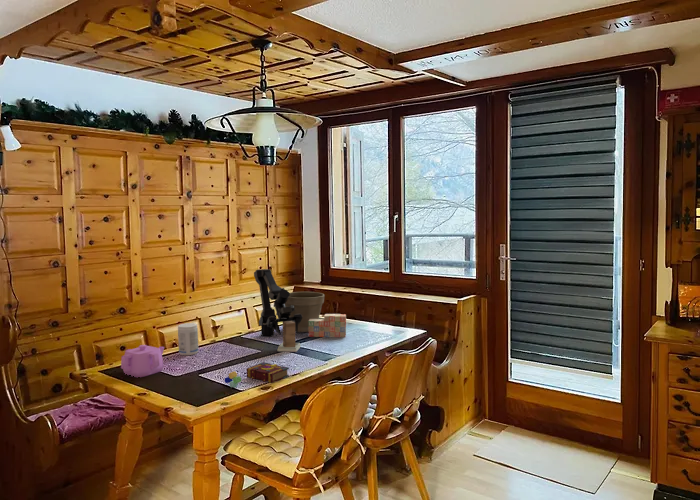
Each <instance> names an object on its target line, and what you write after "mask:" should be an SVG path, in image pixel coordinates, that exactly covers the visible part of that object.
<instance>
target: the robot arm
mask: <svg viewBox="0 0 700 500" xmlns="http://www.w3.org/2000/svg"><path fill="white" fill-rule="evenodd" d="M253 276H254V279H255V282H256V283H257V284H258V286H259V295H260V299H261V306H262V309H261V312H260V317H259V320H258V325H259V326H260V328H261V335H260V337H265V338H266V337H273V336H274V335H275V332H276V333H278V335H279V336H282V331H281V329H280V326H279V323H283V322H285V321H293V322H295V331H296V332H295V334H296V333H297V334H298V333H299V332H298V324H299V323H300V322H301V320H302V318H303V317H302V315H301V314H294V316H293V317H289V316H290V315H291V314H290V313H292V312H293V311H295V308H294V305H290V306H289V307H286V305H285V303H286V302H287V300H288V298H289V296H290V293H291V292H290V291H288V290H287V289H285V288H284V287H281V286H280V285H278V284H277V282H276V280H275V278H274V275H273V274H272V270H271V269H269V268H268V269H267V268H263V269H260V268H259V269H255V271H254V272H253ZM271 301H273V307H274V308H273V307H272V305H271Z"/></svg>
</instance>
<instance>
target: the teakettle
mask: <svg viewBox="0 0 700 500" xmlns="http://www.w3.org/2000/svg"><path fill="white" fill-rule="evenodd" d="M164 349H165V346H159V347H156V346H152V345H147V344H140V345H139V346H138V347H136V348H135V347H134V348H132V349H131V348H129V349H125V351H124V355H121V359H120V360H121V361H120V364H121V365H120V369H122V370H123V371H122V372H123V374H124V373H125V374H124V375H126V374H127V375H126V376H129V375H131V376H130V377H133V376H134V377H133V378H138V377H140V378H143V377H148V376H151V375H154V374H157V373H159V372H162V371H163V368H164V359H163V354H164Z"/></svg>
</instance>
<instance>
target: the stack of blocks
mask: <svg viewBox="0 0 700 500" xmlns="http://www.w3.org/2000/svg"><path fill="white" fill-rule="evenodd" d="M346 335H347V314H345V313H344V314H341V313H325V314H324V316H323V318H319V319H309V332H308V337H311V338H312V337H313V338H315V337H317V338H319V337H320V338H346Z"/></svg>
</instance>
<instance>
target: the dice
mask: <svg viewBox="0 0 700 500" xmlns="http://www.w3.org/2000/svg"><path fill="white" fill-rule="evenodd" d="M241 382H242V377H241V375H240V376H239V375H238V373H237V372H236V371H231V372H230V373H228V376H226V377H225V378H224V383H225V384H229V387H230V388H232V387H234V388H237V387H238V384H239V383H241ZM236 386H237V387H236Z"/></svg>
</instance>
